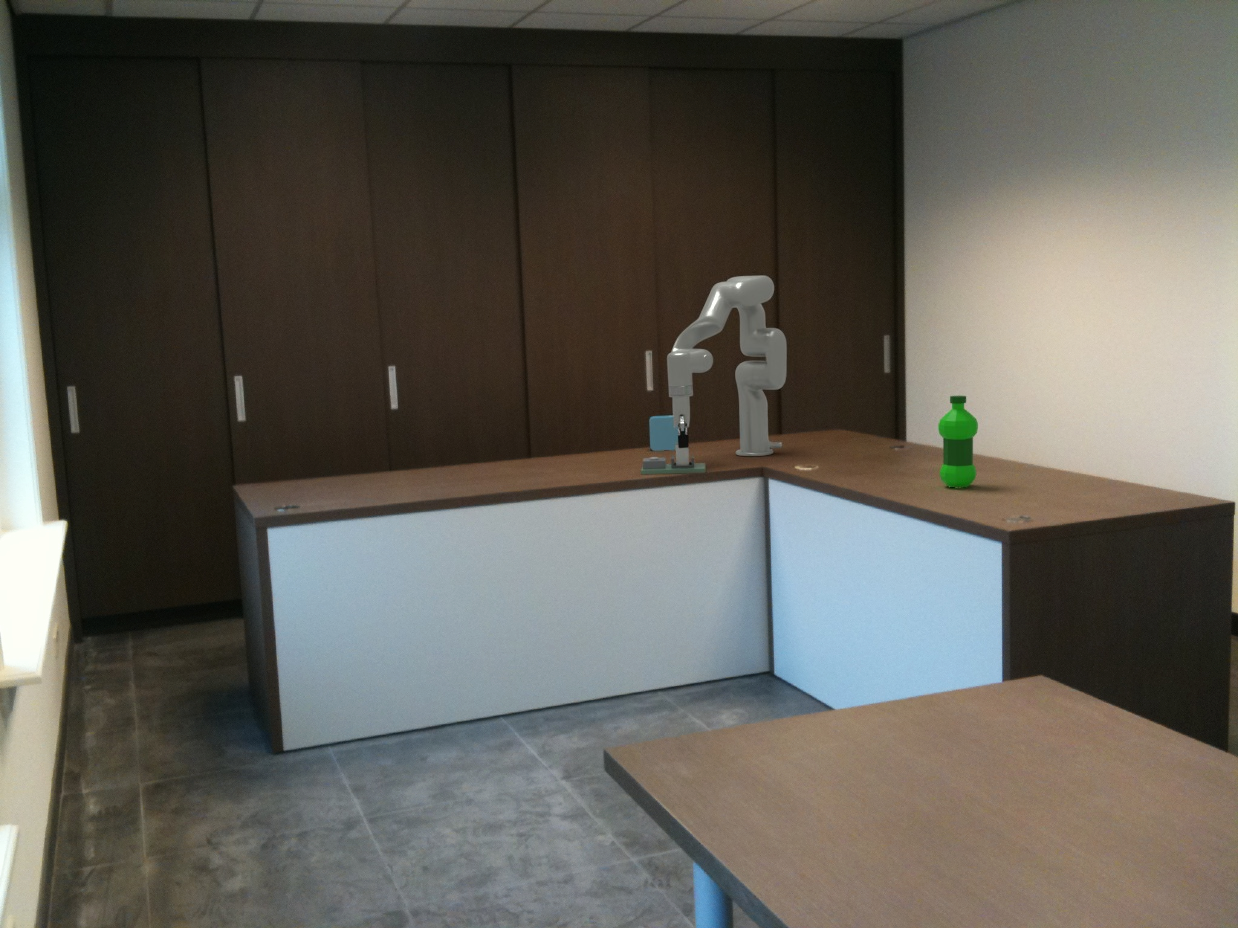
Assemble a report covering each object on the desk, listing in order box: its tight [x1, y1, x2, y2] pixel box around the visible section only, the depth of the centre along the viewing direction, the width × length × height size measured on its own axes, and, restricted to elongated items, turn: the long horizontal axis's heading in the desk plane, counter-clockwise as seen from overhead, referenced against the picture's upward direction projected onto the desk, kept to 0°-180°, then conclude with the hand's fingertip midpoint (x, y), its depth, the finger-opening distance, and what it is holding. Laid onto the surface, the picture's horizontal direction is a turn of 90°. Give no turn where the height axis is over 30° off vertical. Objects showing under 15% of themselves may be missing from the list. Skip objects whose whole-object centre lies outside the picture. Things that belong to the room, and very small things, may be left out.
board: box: [640, 454, 706, 475], centre depth 384 cm, size 20×12×4 cm, turn 87°
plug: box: [675, 444, 690, 465], centre depth 384 cm, size 4×4×7 cm
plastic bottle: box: [937, 395, 979, 488], centre depth 333 cm, size 10×10×25 cm
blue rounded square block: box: [648, 414, 678, 452], centre depth 432 cm, size 12×4×12 cm, turn 90°
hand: (683, 445), depth 384 cm, fingers open, 9 cm apart
